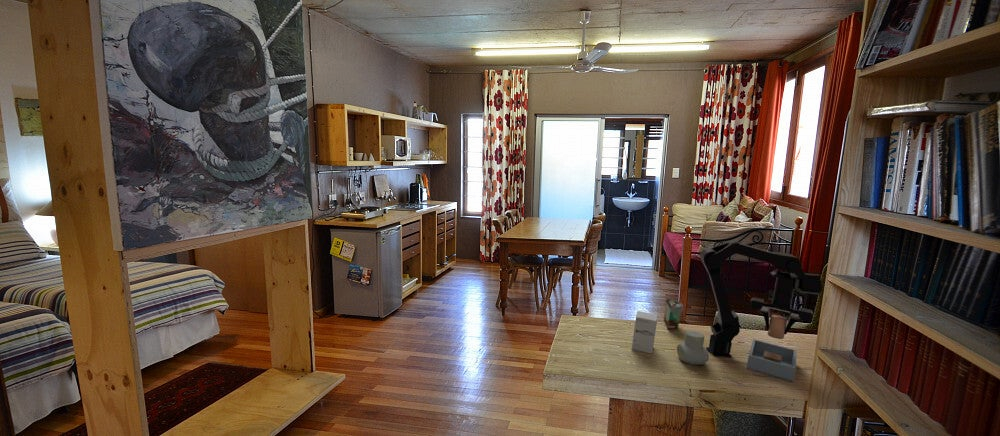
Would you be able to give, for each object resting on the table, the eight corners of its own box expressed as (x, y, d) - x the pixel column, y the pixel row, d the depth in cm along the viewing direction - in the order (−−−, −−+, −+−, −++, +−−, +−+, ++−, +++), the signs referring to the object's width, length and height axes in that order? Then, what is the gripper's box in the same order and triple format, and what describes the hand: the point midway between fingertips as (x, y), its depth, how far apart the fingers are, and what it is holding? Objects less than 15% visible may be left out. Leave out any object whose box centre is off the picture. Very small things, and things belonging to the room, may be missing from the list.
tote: (793, 382, 147) (795, 368, 146) (746, 369, 154) (748, 355, 153) (793, 363, 161) (796, 350, 161) (751, 351, 169) (753, 338, 168)
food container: (683, 333, 182) (687, 309, 180) (667, 330, 183) (671, 307, 181) (678, 321, 194) (681, 299, 192) (663, 319, 195) (666, 297, 193)
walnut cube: (779, 368, 155) (781, 355, 154) (778, 374, 150) (781, 360, 150) (762, 364, 157) (764, 350, 157) (761, 369, 153) (763, 355, 152)
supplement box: (631, 349, 163) (635, 316, 161) (633, 342, 170) (637, 310, 168) (652, 354, 160) (656, 320, 158) (653, 346, 167) (658, 314, 165)
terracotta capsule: (787, 339, 158) (790, 320, 157) (773, 338, 157) (777, 319, 156) (777, 333, 163) (780, 314, 162) (764, 332, 162) (767, 314, 161)
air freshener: (673, 353, 163) (677, 326, 161) (697, 354, 163) (700, 328, 161) (685, 367, 152) (689, 339, 150) (709, 369, 152) (714, 341, 150)
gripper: (815, 290, 159) (807, 332, 161) (755, 279, 169) (748, 318, 171) (816, 298, 150) (807, 342, 152) (753, 285, 160) (745, 327, 162)
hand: (776, 331), depth 160 cm, fingers closed on terracotta capsule, 5 cm apart
